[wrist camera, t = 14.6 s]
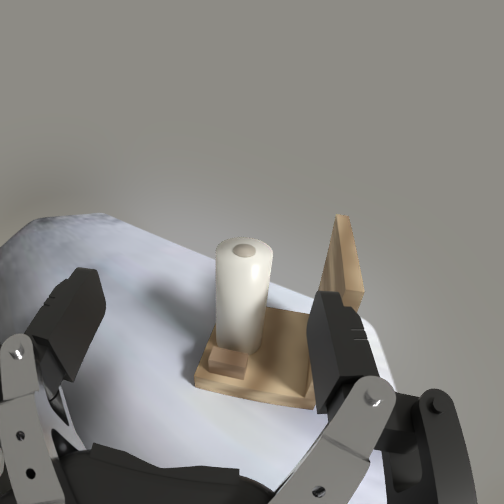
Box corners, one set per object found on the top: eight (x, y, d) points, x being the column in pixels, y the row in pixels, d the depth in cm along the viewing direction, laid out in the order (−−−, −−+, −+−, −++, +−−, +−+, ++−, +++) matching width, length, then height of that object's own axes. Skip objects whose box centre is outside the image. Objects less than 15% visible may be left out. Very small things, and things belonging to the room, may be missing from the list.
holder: (195, 387, 32) (182, 260, 22) (225, 311, 44) (229, 197, 34) (312, 409, 30) (364, 292, 21) (318, 328, 42) (348, 216, 32)
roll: (210, 351, 34) (208, 260, 27) (222, 320, 39) (224, 232, 32) (256, 360, 33) (268, 270, 26) (264, 328, 38) (276, 240, 31)
